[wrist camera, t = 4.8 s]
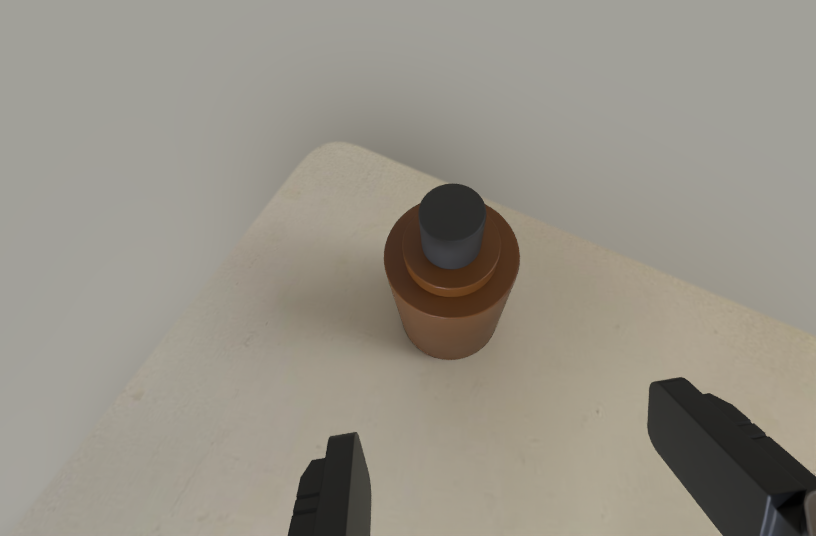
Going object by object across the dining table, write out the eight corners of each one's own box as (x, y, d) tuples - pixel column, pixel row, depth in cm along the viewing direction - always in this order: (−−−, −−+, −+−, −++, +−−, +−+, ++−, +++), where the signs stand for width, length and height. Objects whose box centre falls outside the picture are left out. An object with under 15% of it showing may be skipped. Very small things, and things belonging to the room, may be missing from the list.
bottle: (475, 256, 27) (495, 126, 16) (513, 340, 25) (566, 254, 14) (389, 286, 27) (351, 173, 16) (420, 373, 25) (400, 312, 14)
